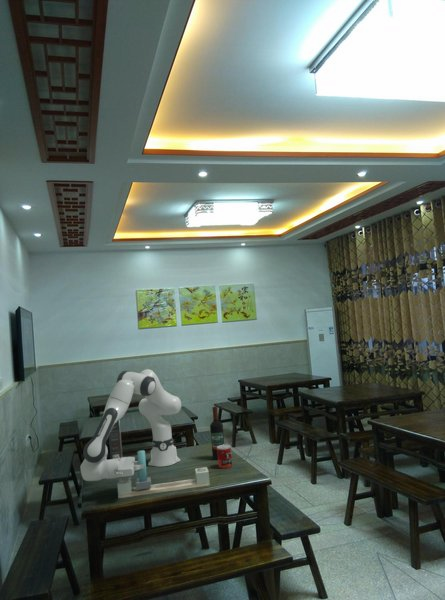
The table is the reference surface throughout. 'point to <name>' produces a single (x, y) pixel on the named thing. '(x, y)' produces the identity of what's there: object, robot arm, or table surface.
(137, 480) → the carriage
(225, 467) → the canned food
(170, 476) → the table surface
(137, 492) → the rail board
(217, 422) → the wine bottle
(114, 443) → the cake mix box
